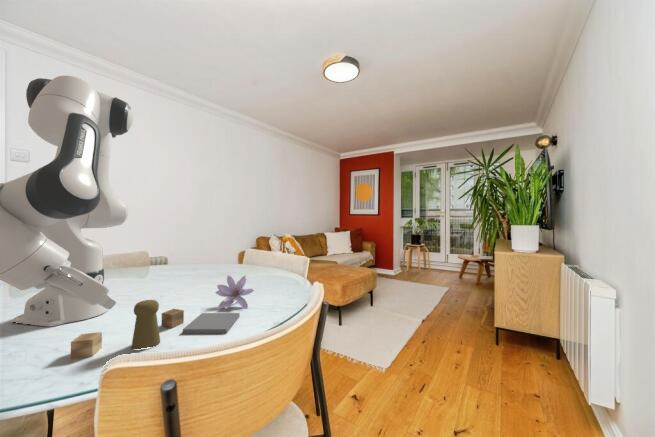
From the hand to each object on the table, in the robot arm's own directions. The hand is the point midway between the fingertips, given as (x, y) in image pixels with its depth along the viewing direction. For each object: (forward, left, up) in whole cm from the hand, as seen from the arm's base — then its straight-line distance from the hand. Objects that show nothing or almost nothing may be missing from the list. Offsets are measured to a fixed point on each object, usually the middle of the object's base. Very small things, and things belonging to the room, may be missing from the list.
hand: (101, 302), depth 57 cm
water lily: (+17, +36, -14) cm, 42 cm away
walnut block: (+5, +20, -14) cm, 25 cm away
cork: (+5, +8, -14) cm, 16 cm away
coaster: (+17, +20, -13) cm, 29 cm away
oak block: (-6, +4, -14) cm, 15 cm away
